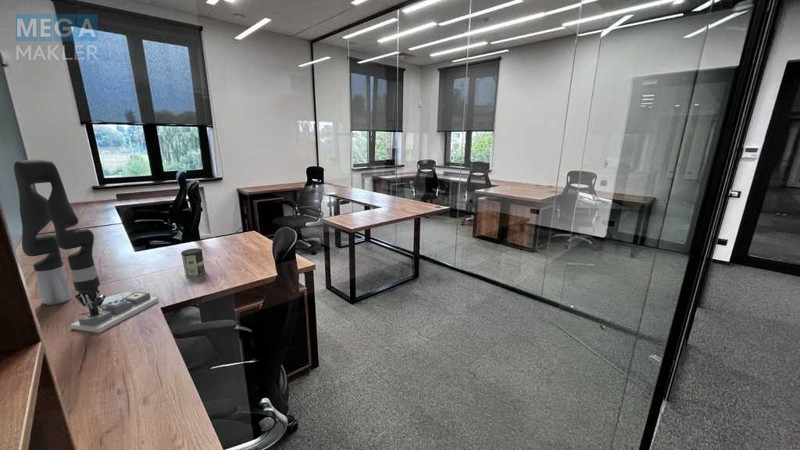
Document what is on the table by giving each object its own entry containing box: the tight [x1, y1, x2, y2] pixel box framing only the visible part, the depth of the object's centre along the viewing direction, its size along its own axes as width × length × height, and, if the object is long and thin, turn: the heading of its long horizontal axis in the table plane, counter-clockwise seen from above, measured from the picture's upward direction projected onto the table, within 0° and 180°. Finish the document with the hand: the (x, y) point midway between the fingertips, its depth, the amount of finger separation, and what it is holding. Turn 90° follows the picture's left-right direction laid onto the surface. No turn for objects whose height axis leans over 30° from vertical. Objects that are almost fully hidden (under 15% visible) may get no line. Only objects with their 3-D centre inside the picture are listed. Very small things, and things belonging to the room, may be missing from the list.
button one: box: [127, 292, 145, 299], centre depth 152 cm, size 5×5×3 cm
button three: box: [106, 299, 127, 309], centre depth 143 cm, size 5×5×3 cm
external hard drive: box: [99, 291, 133, 308], centre depth 157 cm, size 2×8×12 cm
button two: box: [83, 312, 106, 320], centre depth 135 cm, size 5×5×3 cm
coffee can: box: [180, 247, 206, 278], centre depth 187 cm, size 10×10×14 cm
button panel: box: [70, 291, 160, 334], centre depth 144 cm, size 14×27×4 cm, turn 170°
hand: (95, 315), depth 134 cm, fingers closed
